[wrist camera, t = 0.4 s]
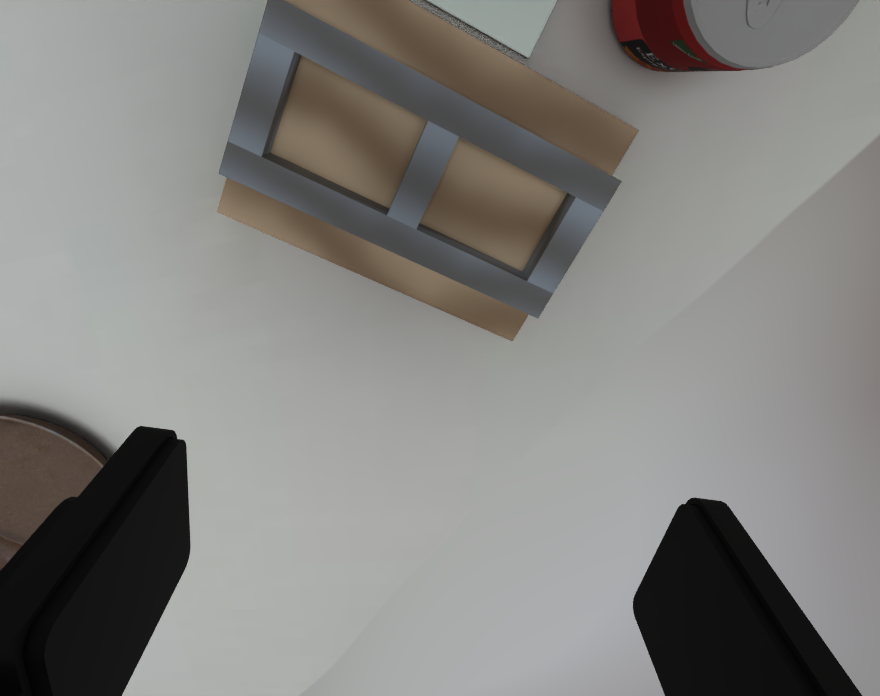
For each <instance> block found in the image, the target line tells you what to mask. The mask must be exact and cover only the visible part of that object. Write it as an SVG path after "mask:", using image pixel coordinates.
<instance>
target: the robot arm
mask: <svg viewBox="0 0 880 696" xmlns="http://www.w3.org/2000/svg"><path fill="white" fill-rule="evenodd" d="M189 554H190V526H189V502H188V478H187V454H186V443H185V441H184V440H180V439H177V435H176V433H175V431H173V430H167V429H160V428H152V427H144V426H140V427H137V428H136V429H135V430H134V431H133V432H132V433H131V434H130V436H129V437H128V438H127V439H126V440H125V442H124V443H123V444H122V445H121V446H120V448H119V449H118V450H117V451H116V452H115V453H114V455H113V456H112V457H111V458H110V459H109V461H108V462H107V463H106V464H105V465H104V466H103V468H102V469H101V470H100V471H99V472H98V474H97V475H96V476H95V477H94V478H93V479H92V481H91V482H90V483H89V484H88V485H87V487H86V488H85V489H84V490H83V491H82V493H81V494H80V495H79V496H78V497H72V496H71V497H69V498H67V499H65V500H63V501H62V502H61V503H60V504H59V505H58V506H57V507H56V508H55V509H54V510H53V511H52V512H51V514H50V515H49V516H48V517H47V518H46V519H45V520H44V522H43V523H42V524H41V525H40V526H39V527H38V528H37V530H36V531H35V532H34V533H33V534H32V535H31V536H30V538H29V539H28V540H27V541H26V542H25V543H24V544H23V546H22V547H21V548H20V549H19V550H18V551H17V552H16V554H15V555H14V556H13V557H12V558H11V559H10V560H9V562H8V563H7V564H6V565H5V566H4V567H3V568H2V570H1V571H0V696H122V694H123V692H124V690H125V688H126V686H127V684H128V682H129V680H130V678H131V676H132V674H133V672H134V670H135V668H136V666H137V664H138V662H139V660H140V658H141V656H142V654H143V652H144V650H145V648H146V646H147V644H148V642H149V640H150V638H151V636H152V634H153V632H154V630H155V628H156V626H157V624H158V622H159V620H160V618H161V616H162V614H163V612H164V610H165V608H166V606H167V604H168V602H169V600H170V598H171V596H172V594H173V592H174V590H175V588H176V586H177V584H178V582H179V580H180V578H181V576H182V574H183V572H184V570H185V568H186V565H187V562H188V559H189ZM633 610H634V615H635V619H636V621H637V624H638V626H639V629H640V631H641V634H642V637H643V639H644V642H645V644H646V647H647V650H648V652H649V655H650V657H651V660H652V663H653V665H654V668H655V670H656V673H657V675H658V678H659V681H660V683H661V686H662V688H663V691H664V694H665V696H862V695H861V693H860V692H859V691H858V689H857V688H856V686H855V685H854V684H853V682H852V681H851V679H850V678H849V676H848V675H847V674H846V672H845V671H844V669H843V668H842V666H841V665H840V664H839V662H838V661H837V659H836V658H835V657H834V655H833V654H832V652H831V651H830V649H829V648H828V647H827V646H826V644H825V642H824V641H823V640H822V638H821V637H820V635H819V634H818V633H817V631H816V630H815V628H814V627H813V625H812V624H811V623H810V621H809V620H808V618H807V617H806V616H805V614H804V613H803V611H802V610H801V608H800V607H799V606H798V604H797V603H796V601H795V600H794V598H793V597H792V596H791V594H790V593H789V592H788V590H787V589H786V587H785V586H784V584H783V583H782V582H781V580H780V579H779V577H778V576H777V574H776V573H775V572H774V570H773V569H772V567H771V566H770V565H769V563H768V562H767V560H766V559H765V557H764V556H763V555H762V553H761V552H760V550H759V549H758V547H757V546H756V545H755V543H754V542H753V540H752V539H751V538H750V536H749V535H748V533H747V532H746V530H745V529H744V528H743V526H742V525H741V523H740V522H739V521H738V519H737V518H736V516H735V515H734V514H733V512H732V511H731V509H730V508H729V507H728V506H727V504H726V503H724V502H722V501H716V500H708V499H700V498H691V499H690V500H688V501H687V503H686V504H682V505H680V506H679V507H678V509H677V511H676V513H675V515H674V517H673V519H672V521H671V523H670V525H669V527H668V529H667V531H666V533H665V535H664V537H663V539H662V541H661V543H660V545H659V547H658V549H657V551H656V553H655V555H654V557H653V559H652V561H651V564H650V565H649V567H648V570H647V572H646V574H645V576H644V578H643V580H642V582H641V584H640V586H639V588H638V590H637V592H636V594H635V596H634V601H633Z"/></svg>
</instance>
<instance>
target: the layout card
mask: <svg viewBox="0 0 880 696" xmlns="http://www.w3.org/2000/svg"><path fill="white" fill-rule="evenodd" d="M425 1H427V2H429V3H430V4H432V5H434V6H436V7H437V8H439V9H441V10H443V11H444V12H446V13H448V14H450V15H451V16H453V17H455V18H457V19H458V20H460V21H462V22H464V23H465V24H467V25H469V26H471V27H472V28H474V29H476V30H478V31H479V32H481V33H483V34H485V35H487V36H488V37H490V38H492V39H494V40H495V41H497V42H499V43H501V44H502V45H504V46H506V47H508V48H509V49H511V50H513V51H515V52H516V53H518V54H520V55H522V56H523V57H525V58H527V59H528V58H529V57H530V55H531V53H532V51H533V49H534V47H535V45H536V43H537V41H538V39H539V37H540V35H541V33H542V31H543V28H544V26H545V24H546V22H547V20H548V18H549V16H550V14H551V12H552V10H553V8H554V6H555V4H556V2H557V0H425Z"/></svg>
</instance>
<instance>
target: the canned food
mask: <svg viewBox="0 0 880 696" xmlns="http://www.w3.org/2000/svg"><path fill="white" fill-rule="evenodd" d="M858 2H859V0H612V17H613V24H614V28H615V31H616V34H617V37H618V40H619V41H620V43H621V45H622V47H623V48H624V50H625V51H626V53H627V54H628V55H629V56H630V57H631V58H632V59H633V60H634V61H636V62H637V63H639V64H640V65H642V66H643V67H645V68H648V69H651V70H654V71H663V72H689V71H741V70H755V69H762V68H769V67H773V66H777V65H780V64H783V63H786V62H789V61H792V60H794V59H797V58H798V57H800V56H802V55H804V54H805V53H807V52H809V51H811V50H812V49H814V48H815V47H817V46H818V45H819V44H820V43H822V42H823V41H824V40H825V39H827V38H828V37H829V36H830V35H831V34H832V33H833V32H834V31H835V30H836V29H837V28H838V27H839V26H840V25H841V24H842V23H843V22H844V21H845V19H846V18H847V17H848V16H849V14H850V13H851V12H852V10H853V9H854V7H855V6H856V5H857V3H858Z"/></svg>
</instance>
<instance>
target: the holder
mask: <svg viewBox="0 0 880 696" xmlns="http://www.w3.org/2000/svg"><path fill="white" fill-rule="evenodd" d="M638 131H639V130H637V129H636V128H634V127H632V126H630V125H629V124H627V123H625V122H623V121H622V120H620V119H618V118H616V117H614V116H613V115H611V114H609V113H607V112H606V111H604V110H602V109H600V108H599V107H597V106H595V105H593V104H591V103H590V102H588V101H586V100H584V99H583V98H581V97H579V96H577V95H575V94H574V93H572V92H570V91H568V90H567V89H565V88H563V87H561V86H560V85H558V84H556V83H554V82H552V81H551V80H549V79H547V78H545V77H544V76H542V75H540V74H538V73H537V72H535V71H533V70H531V69H529V68H528V67H526V66H524V65H522V64H521V63H519V62H517V61H515V60H514V59H512V58H510V57H508V56H506V55H505V54H503V53H501V52H499V51H498V50H496V49H494V48H492V47H491V46H489V45H487V44H485V43H483V42H482V41H480V40H478V39H476V38H475V37H473V36H471V35H469V34H468V33H466V32H464V31H462V30H460V29H459V28H457V27H455V26H453V25H452V24H450V23H448V22H446V21H445V20H443V19H441V18H439V17H437V16H436V15H434V14H432V13H430V12H429V11H427V10H425V9H423V8H421V7H420V6H418V5H416V4H414V3H413V2H411V1H409V0H268V1H267V5H266V8H265V12H264V15H263V19H262V22H261V26H260V29H259V33H258V37H257V40H256V44H255V47H254V51H253V54H252V58H251V61H250V65H249V68H248V72H247V75H246V79H245V82H244V86H243V89H242V93H241V96H240V100H239V103H238V107H237V110H236V114H235V117H234V121H233V124H232V128H231V131H230V135H229V138H228V142H227V145H226V149H225V153H224V156H223V160H222V163H221V167H220V170H219V174H221V175H223V176H225V177H227V180H226V183H225V187H224V190H223V193H222V197H221V200H220V204H219V207H218V211H217V212H218V213H221V214H223V215H225V216H227V217H230V218H232V219H234V220H237V221H239V222H241V223H243V224H246V225H248V226H250V227H253V228H255V229H257V230H259V231H262V232H264V233H266V234H269V235H271V236H273V237H275V238H278V239H280V240H282V241H285V242H287V243H289V244H291V245H294V246H296V247H298V248H301V249H303V250H305V251H307V252H310V253H312V254H314V255H317V256H319V257H321V258H323V259H326V260H328V261H330V262H332V263H335V264H337V265H339V266H342V267H344V268H346V269H348V270H351V271H353V272H355V273H358V274H360V275H362V276H364V277H367V278H369V279H371V280H374V281H376V282H378V283H380V284H383V285H385V286H387V287H390V288H392V289H394V290H396V291H399V292H401V293H403V294H406V295H408V296H410V297H412V298H415V299H417V300H419V301H422V302H424V303H426V304H428V305H431V306H433V307H435V308H437V309H440V310H442V311H444V312H447V313H449V314H451V315H453V316H456V317H458V318H460V319H463V320H465V321H467V322H469V323H472V324H474V325H476V326H479V327H481V328H483V329H485V330H488V331H490V332H492V333H495V334H497V335H499V336H501V337H504V338H506V339H508V340H511V341H513V340H514V338H515V336H516V335H517V333H518V331H519V330H520V328H521V326H522V325H523V323H524V321H525V320H526V318H527V316H528V315H532V316H534V317H536V318H539V316H540V314H541V313H542V311H543V309H544V308H545V306H546V304H547V303H548V301H549V300H550V298H551V296H552V295H553V293H554V291H555V290H556V288H557V286H558V285H559V283H560V282H561V280H562V278H563V277H564V275H565V273H566V272H567V270H568V268H569V267H570V265H571V263H572V262H573V260H574V259H575V257H576V255H577V254H578V252H579V250H580V249H581V247H582V245H583V244H584V242H585V241H586V239H587V237H588V236H589V234H590V232H591V231H592V229H593V227H594V226H595V224H596V223H597V221H598V219H599V218H600V216H601V214H602V213H603V211H604V209H605V208H606V206H607V204H608V203H609V201H610V200H611V198H612V196H613V195H614V193H615V191H616V190H617V188H618V186H619V185H620V183H621V182H622V181H620V180H618V179H616V178H615V177H613V176H612V174H613V173H614V171H615V169H616V168H617V166H618V164H619V163H620V161H621V159H622V158H623V156H624V154H625V153H626V151H627V149H628V148H629V146H630V144H631V143H632V141H633V139H634V138H635V136H636V134H637V133H638Z"/></svg>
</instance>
